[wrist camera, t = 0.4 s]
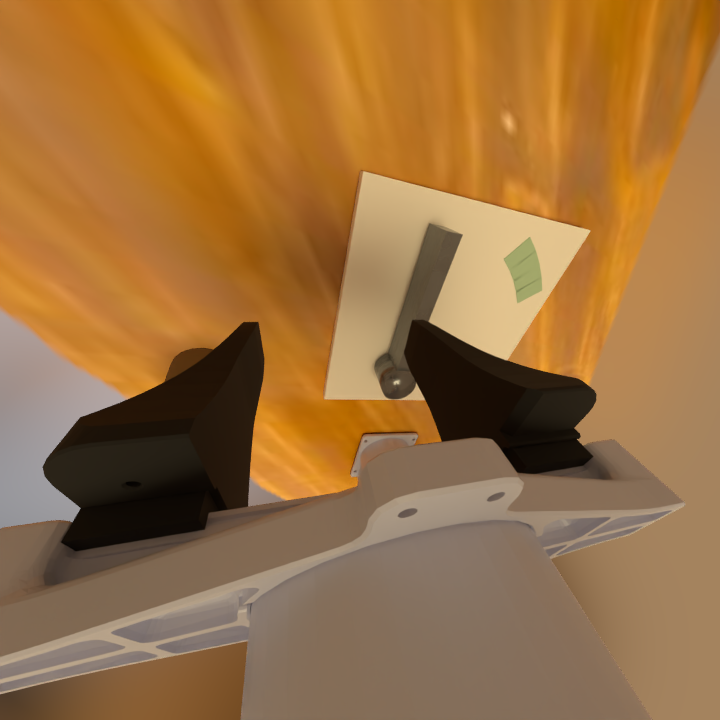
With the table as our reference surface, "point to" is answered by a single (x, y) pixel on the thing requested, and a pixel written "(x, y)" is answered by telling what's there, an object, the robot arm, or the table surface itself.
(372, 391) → the dial board
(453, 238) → the pointer
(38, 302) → the table surface
